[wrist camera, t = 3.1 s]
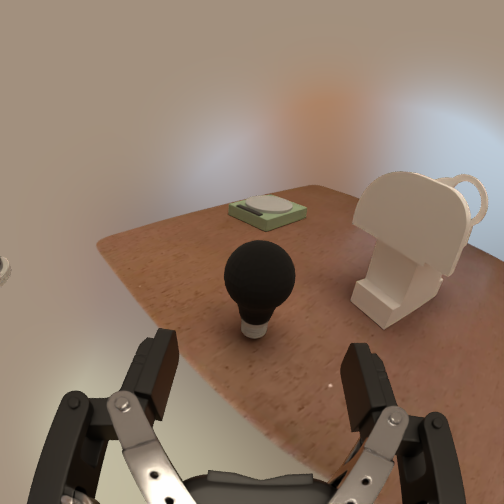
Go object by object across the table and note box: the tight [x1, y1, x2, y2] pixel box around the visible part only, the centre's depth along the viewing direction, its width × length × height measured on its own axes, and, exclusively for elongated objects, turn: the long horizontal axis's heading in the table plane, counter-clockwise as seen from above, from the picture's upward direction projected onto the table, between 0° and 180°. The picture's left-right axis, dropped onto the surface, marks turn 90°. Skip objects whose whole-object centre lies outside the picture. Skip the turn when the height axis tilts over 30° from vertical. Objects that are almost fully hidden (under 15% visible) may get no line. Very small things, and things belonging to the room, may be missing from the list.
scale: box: [229, 194, 307, 232], centre depth 54 cm, size 12×10×3 cm
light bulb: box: [224, 240, 295, 339], centre depth 24 cm, size 6×6×10 cm
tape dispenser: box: [350, 171, 488, 329], centre depth 28 cm, size 14×13×18 cm
